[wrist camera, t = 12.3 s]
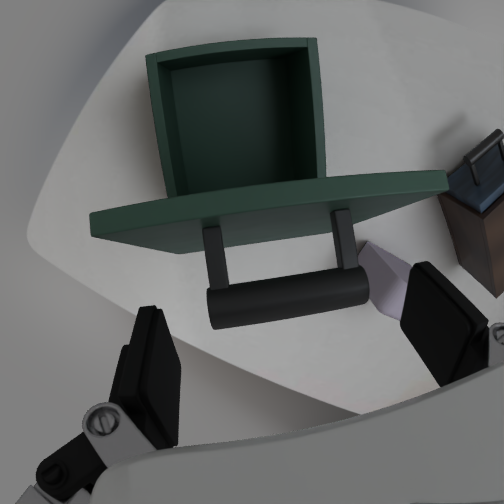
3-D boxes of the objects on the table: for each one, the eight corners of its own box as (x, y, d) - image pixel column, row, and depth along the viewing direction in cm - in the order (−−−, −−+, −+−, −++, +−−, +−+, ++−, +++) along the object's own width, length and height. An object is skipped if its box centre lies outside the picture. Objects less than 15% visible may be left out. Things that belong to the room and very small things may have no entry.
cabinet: (435, 191, 36) (483, 219, 28) (490, 145, 34) (539, 163, 25) (459, 265, 42) (496, 298, 34) (507, 220, 40) (546, 246, 31)
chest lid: (88, 212, 9) (108, 354, 9) (445, 169, 10) (464, 292, 10) (177, 244, 26) (185, 301, 26) (328, 223, 26) (336, 277, 26)
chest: (162, 65, 26) (144, 55, 19) (290, 51, 27) (316, 37, 19) (185, 210, 34) (178, 247, 26) (301, 194, 34) (327, 225, 27)
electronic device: (343, 268, 40) (375, 317, 31) (363, 238, 38) (402, 281, 29) (393, 292, 43) (427, 336, 34) (412, 266, 41) (451, 307, 32)
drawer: (428, 156, 33) (470, 173, 26) (482, 114, 31) (524, 125, 24) (462, 255, 40) (494, 282, 34) (507, 214, 38) (540, 235, 31)
